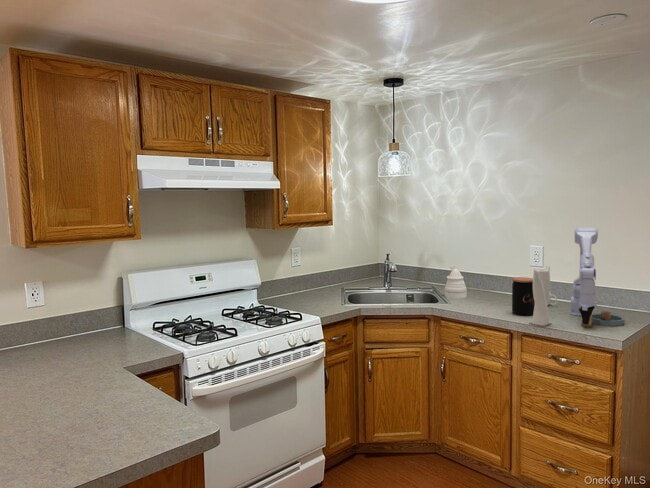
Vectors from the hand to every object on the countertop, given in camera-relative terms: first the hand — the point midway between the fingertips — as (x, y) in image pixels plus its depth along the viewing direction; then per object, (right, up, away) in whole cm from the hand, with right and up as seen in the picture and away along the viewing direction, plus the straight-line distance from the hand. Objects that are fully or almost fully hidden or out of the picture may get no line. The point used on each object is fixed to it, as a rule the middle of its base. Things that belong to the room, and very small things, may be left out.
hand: (586, 322), depth 229 cm
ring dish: (+12, -1, +5) cm, 13 cm away
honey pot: (-41, +4, +74) cm, 84 cm away
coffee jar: (-19, 0, +26) cm, 32 cm away
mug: (0, +2, +43) cm, 43 cm away
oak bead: (0, -1, 0) cm, 1 cm away
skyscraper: (-19, -2, +5) cm, 19 cm away
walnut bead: (+10, 0, +2) cm, 10 cm away
